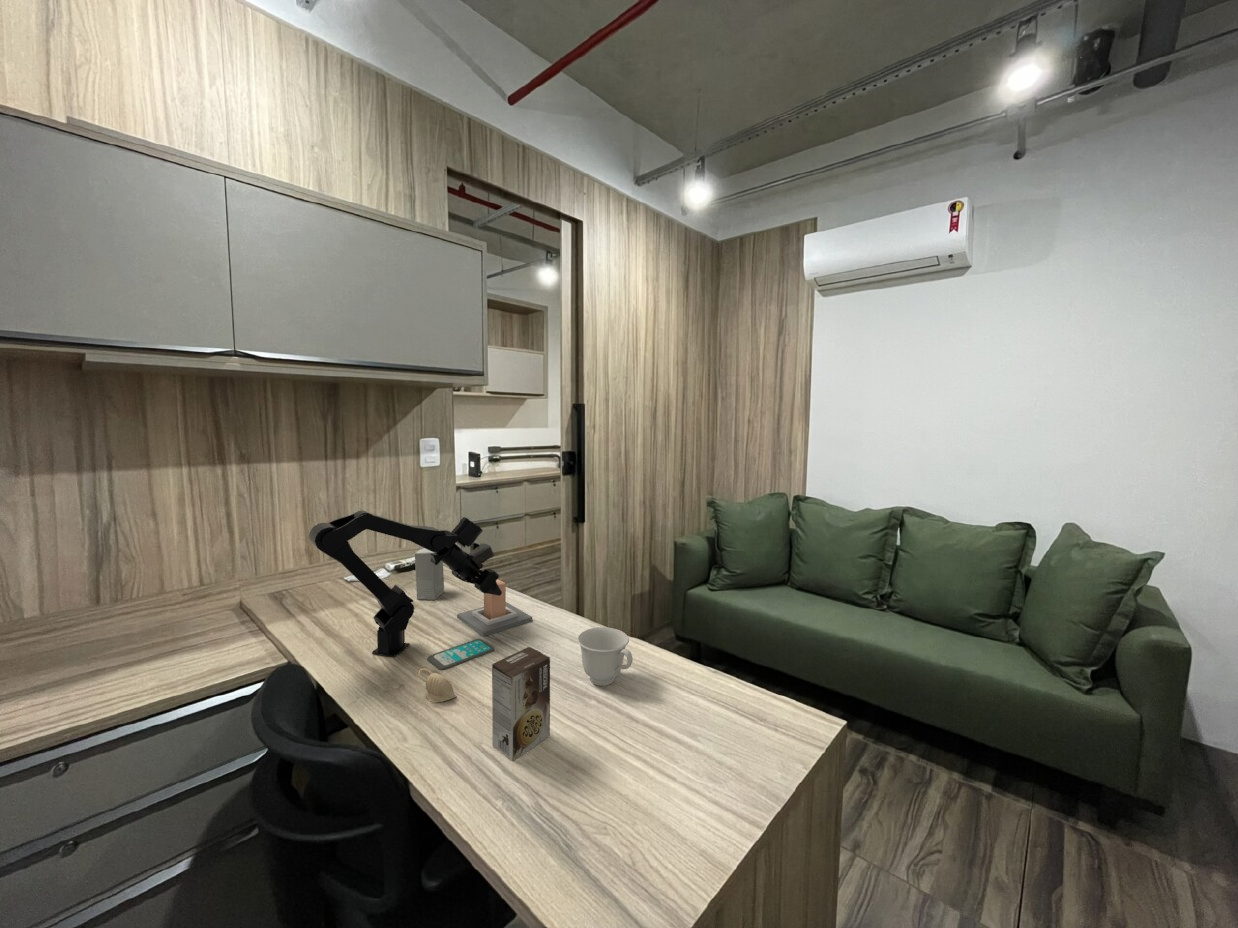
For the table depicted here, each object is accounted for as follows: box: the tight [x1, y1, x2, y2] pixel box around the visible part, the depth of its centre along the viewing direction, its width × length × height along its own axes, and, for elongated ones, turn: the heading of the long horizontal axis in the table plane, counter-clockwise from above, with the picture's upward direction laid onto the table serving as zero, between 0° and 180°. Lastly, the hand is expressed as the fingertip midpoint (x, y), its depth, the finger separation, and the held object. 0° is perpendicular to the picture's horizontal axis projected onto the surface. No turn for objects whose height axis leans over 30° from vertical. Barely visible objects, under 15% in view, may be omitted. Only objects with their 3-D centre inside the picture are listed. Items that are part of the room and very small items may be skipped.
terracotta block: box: [483, 578, 507, 619], centre depth 144 cm, size 5×5×10 cm
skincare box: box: [414, 547, 445, 601], centre depth 161 cm, size 8×7×16 cm
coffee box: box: [491, 646, 551, 762], centre depth 90 cm, size 9×6×16 cm
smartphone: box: [426, 638, 495, 671], centre depth 123 cm, size 9×1×15 cm
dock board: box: [456, 601, 533, 637], centre depth 144 cm, size 16×16×2 cm
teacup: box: [577, 626, 634, 686], centre depth 112 cm, size 12×15×10 cm
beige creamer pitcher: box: [417, 667, 458, 704], centre depth 104 cm, size 4×8×5 cm, turn 61°
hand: (492, 589), depth 143 cm, fingers open, 9 cm apart
